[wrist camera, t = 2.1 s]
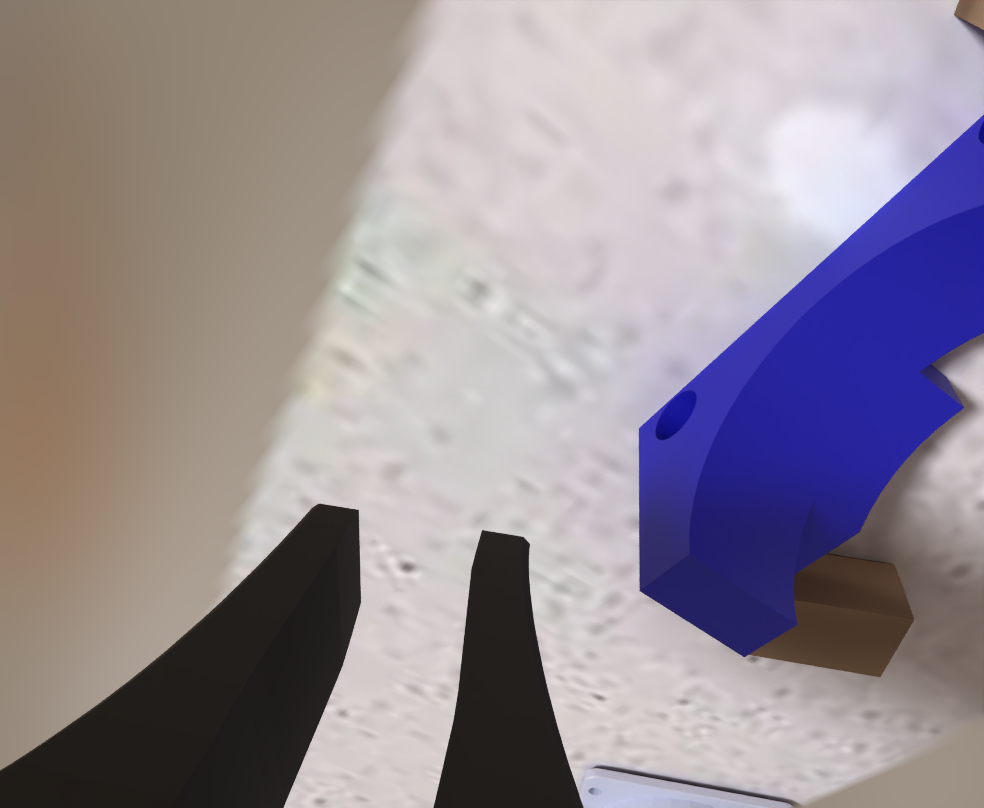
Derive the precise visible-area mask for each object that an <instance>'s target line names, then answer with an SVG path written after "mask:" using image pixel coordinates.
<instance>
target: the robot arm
mask: <svg viewBox="0 0 984 808" xmlns="http://www.w3.org/2000/svg"><path fill="white" fill-rule="evenodd" d="M529 547H530V544H529V543H528V541H527V540H526V539H525V538H524V537H521V536H514V535H508V534H502V533H496V532H490V531H484V530H482V533H481V536H480V540H479V543H478V547H477V550H476V554H475V558H474V562H473V566H472V570H471V580H470V589H469V598H468V607H467V616H466V626H465V635H464V644H463V653H462V663H461V672H460V681H459V690H458V697H457V703H456V709H455V715H454V721H453V726H452V730H451V734H450V739H449V743H448V747H447V752H446V756H445V761H444V765H443V769H442V774H441V778H440V783H439V787H438V791H437V795H436V800H435V804H434V808H794V807H793V806H792V805H790V804H788V803H785V802H779V801H774V800H768V799H763V798H758V797H752V796H747V795H741V794H736V793H730V792H725V791H719V790H714V789H709V788H703V787H698V786H692V785H687V784H681V783H676V782H670V781H665V780H660V779H654V778H649V777H643V776H638V775H632V774H627V773H621V772H616V771H611V770H605V769H600V768H593V769H589V770H587V771H586V772H585V774H584V778H583V782H582V785H581V789H580V793H578V790H577V787H576V784H575V781H574V778H573V775H572V772H571V769H570V766H569V763H568V760H567V757H566V754H565V750H564V747H563V744H562V740H561V737H560V733H559V730H558V727H557V723H556V719H555V715H554V712H553V708H552V704H551V700H550V697H549V693H548V688H547V684H546V680H545V676H544V671H543V666H542V661H541V656H540V651H539V646H538V641H537V636H536V631H535V625H534V619H533V611H532V603H531V595H530V583H529ZM360 604H361V586H360V545H359V510H355V509H349V508H343V507H337V506H331V505H324V504H318V505H316V506H315V507H313V508H312V509H311V510H310V511H309V512H308V513H307V514H306V515H305V517H304V518H303V519H302V520H301V521H300V522H299V523H298V524H297V525H296V526H295V528H294V529H293V530H292V531H291V532H290V533H289V534H288V535H287V536H286V537H285V538H284V539H283V540H282V542H281V543H280V544H279V545H278V546H277V547H276V548H275V549H274V550H273V551H272V552H271V553H270V554H269V555H268V556H267V557H266V558H265V559H264V560H263V561H262V562H261V563H260V564H259V565H258V566H257V567H256V568H255V569H254V570H253V571H252V572H251V573H250V574H249V575H248V576H247V577H246V578H245V579H244V580H243V581H242V582H241V583H240V584H239V585H238V586H237V587H236V588H235V589H234V590H233V591H232V592H231V593H230V594H229V595H228V596H227V597H226V598H225V599H224V600H223V601H222V602H220V603H219V604H218V605H217V606H216V607H215V608H214V609H213V610H212V611H211V612H210V613H209V614H208V615H206V616H205V617H204V618H203V619H202V620H201V621H200V622H199V623H197V624H196V625H195V626H194V627H193V628H192V629H190V630H189V631H188V632H187V633H186V634H185V635H184V636H183V637H181V638H180V639H179V640H178V641H177V642H176V643H175V644H173V645H172V646H171V647H170V648H169V649H168V650H167V651H165V652H164V653H163V654H162V655H161V656H159V657H158V658H157V659H156V660H155V661H153V662H152V663H151V664H150V665H148V666H147V667H146V668H145V669H143V670H142V671H141V672H140V673H138V674H137V675H136V676H135V677H133V678H132V679H131V680H130V681H128V682H127V683H126V684H125V685H123V686H122V687H120V688H119V689H118V690H116V691H115V692H114V693H113V694H111V695H110V696H109V697H107V698H106V699H105V700H103V701H102V702H101V703H99V704H98V705H97V706H95V707H94V708H92V709H91V710H90V711H88V712H87V713H85V714H84V715H82V716H81V717H80V718H78V719H77V720H75V721H74V722H72V723H71V724H70V725H68V726H67V727H65V728H64V729H63V730H61V731H60V732H58V733H57V734H55V735H54V736H53V737H51V738H50V739H48V740H47V741H45V742H44V743H42V744H41V745H39V746H38V747H36V748H35V749H33V750H32V751H30V752H29V753H27V754H26V755H24V756H23V757H21V758H20V759H18V760H16V761H15V762H13V763H12V764H10V765H8V766H7V767H5V768H3V769H2V770H0V808H283V807H284V805H285V802H286V800H287V798H288V795H289V793H290V790H291V788H292V786H293V783H294V781H295V779H296V776H297V774H298V771H299V769H300V767H301V764H302V762H303V760H304V757H305V755H306V752H307V750H308V748H309V745H310V743H311V741H312V738H313V736H314V733H315V731H316V729H317V726H318V724H319V721H320V719H321V717H322V714H323V712H324V710H325V707H326V705H327V702H328V700H329V697H330V695H331V693H332V690H333V688H334V685H335V683H336V681H337V678H338V676H339V673H340V671H341V668H342V666H343V662H344V659H345V656H346V652H347V649H348V646H349V642H350V639H351V636H352V632H353V629H354V625H355V622H356V618H357V615H358V611H359V607H360Z"/></svg>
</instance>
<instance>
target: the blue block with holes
mask: <svg viewBox="0 0 984 808" xmlns="http://www.w3.org/2000/svg"><path fill="white" fill-rule="evenodd" d="M983 333H984V115H983V116H982V117H981V118H980V119H979V120H978V121H976V122H975V123H974V124H973V125H972V126H971V127H970V128H969V129H968V130H967V131H965V132H964V133H963V134H962V135H961V136H960V137H959V138H958V139H957V140H956V141H954V142H953V143H952V144H951V145H950V146H949V147H948V148H947V149H946V150H945V151H943V152H942V153H941V154H940V155H939V156H938V157H937V158H936V159H935V160H934V161H932V162H931V163H930V164H929V165H928V166H927V167H926V168H925V169H924V170H923V171H922V172H920V173H919V174H918V175H917V176H916V177H915V178H914V179H913V180H912V181H911V182H909V183H908V184H907V185H906V186H905V187H904V188H903V189H902V190H901V191H900V192H898V193H897V194H896V195H895V196H894V197H893V198H892V199H891V200H890V201H889V202H887V203H886V204H885V205H884V206H883V207H882V208H881V209H880V210H879V211H878V212H876V213H875V214H874V215H873V216H872V217H871V218H870V219H869V220H868V221H867V222H865V223H864V224H863V225H862V226H861V227H860V228H859V229H858V230H857V231H856V232H854V233H853V234H852V235H851V236H850V237H849V238H848V239H847V240H846V241H845V242H843V243H842V244H841V245H840V246H839V247H838V248H837V249H836V250H835V251H834V252H832V253H831V254H830V255H829V256H828V257H827V258H826V259H825V260H824V261H823V262H821V263H820V264H819V265H818V266H817V267H816V268H815V269H814V270H813V271H812V272H810V273H809V274H808V275H807V276H806V277H805V278H804V279H803V280H802V281H801V282H799V283H798V284H797V285H796V286H795V287H794V288H793V289H792V290H791V291H790V292H788V293H787V294H786V295H785V296H784V297H783V298H782V299H781V300H780V301H779V302H777V303H776V304H775V305H774V306H773V307H772V308H771V309H770V310H769V311H768V312H767V313H765V314H764V315H763V316H762V317H761V318H760V319H759V320H758V321H757V322H756V323H754V324H753V325H752V326H751V327H750V328H749V329H748V330H747V331H746V332H745V333H743V334H742V335H741V336H740V337H739V338H738V339H737V340H736V341H735V342H734V343H732V344H731V345H730V346H729V347H728V348H727V349H726V350H725V351H724V352H723V353H721V354H720V355H719V356H718V357H717V358H716V359H715V360H714V361H713V362H712V363H710V364H709V365H708V366H707V367H706V368H705V369H704V370H703V371H702V372H701V373H699V374H698V375H697V376H696V377H695V378H694V379H693V380H692V381H691V382H690V383H688V384H687V385H686V386H685V387H684V388H683V389H682V390H681V391H680V392H679V393H677V394H676V395H675V396H674V397H673V398H672V399H671V400H670V401H669V402H668V403H666V404H665V405H664V406H663V407H662V408H661V409H660V410H659V411H658V412H657V413H655V414H654V415H653V416H652V417H651V418H650V419H649V420H648V421H647V422H646V423H644V424H643V425H642V426H641V427H640V428H639V548H640V591H641V592H642V593H644V594H645V595H647V596H649V597H650V598H652V599H653V600H655V601H656V602H658V603H660V604H661V605H663V606H664V607H666V608H667V609H669V610H671V611H672V612H674V613H675V614H677V615H679V616H680V617H682V618H683V619H685V620H686V621H688V622H690V623H691V624H693V625H694V626H696V627H698V628H699V629H701V630H702V631H704V632H705V633H707V634H709V635H710V636H712V637H713V638H715V639H716V640H718V641H720V642H721V643H723V644H724V645H726V646H728V647H729V648H731V649H732V650H734V651H735V652H737V653H739V654H740V655H742V656H743V657H746V656H747V655H749V654H751V653H752V652H754V651H755V650H757V649H759V648H760V647H762V646H764V645H765V644H767V643H769V642H770V641H772V640H773V639H775V638H777V637H778V636H780V635H782V634H783V633H785V632H787V631H788V630H790V629H791V628H793V627H795V626H796V625H797V619H796V613H795V605H794V576H795V574H796V573H798V572H799V571H801V570H802V569H804V568H805V567H807V566H808V565H810V564H811V563H813V562H814V561H816V560H818V559H819V558H821V557H822V556H824V555H825V554H827V553H828V552H830V551H831V550H833V549H834V548H836V547H837V546H839V545H840V544H842V543H843V542H845V541H846V540H848V539H850V538H851V537H853V536H854V535H856V534H857V533H859V532H860V530H861V528H862V526H863V524H864V522H865V520H866V518H867V516H868V514H869V512H870V510H871V508H872V506H873V505H874V503H875V501H876V500H877V498H878V496H879V495H880V493H881V492H882V490H883V489H884V487H885V486H886V485H887V483H888V482H889V480H890V479H891V477H892V476H893V475H894V474H895V472H896V471H897V470H898V469H899V467H900V466H901V465H902V464H903V463H904V461H905V460H906V459H907V458H908V457H909V456H910V455H911V454H912V453H913V452H914V451H915V450H916V448H917V447H918V446H919V445H920V444H921V443H922V442H923V441H925V440H926V439H927V438H928V437H929V436H930V435H931V434H932V433H933V432H934V431H935V430H936V429H938V428H939V427H940V426H941V425H943V424H944V423H945V422H946V421H948V420H949V419H950V418H951V417H953V416H954V415H955V414H956V413H958V412H959V411H961V410H962V409H963V408H964V406H963V405H962V403H961V401H960V400H959V398H958V396H957V395H956V393H955V391H954V389H953V388H952V386H951V384H950V383H949V381H948V379H947V378H946V377H945V376H944V375H943V374H942V373H941V372H939V371H938V370H937V369H936V368H934V367H933V366H932V365H931V363H933V362H934V361H936V360H937V359H939V358H940V357H942V356H943V355H945V354H946V353H948V352H949V351H951V350H953V349H955V348H956V347H958V346H960V345H962V344H963V343H965V342H967V341H969V340H970V339H972V338H974V337H976V336H978V335H981V334H983Z"/></svg>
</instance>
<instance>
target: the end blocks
mask: <svg viewBox="0 0 984 808" xmlns="http://www.w3.org/2000/svg"><path fill="white" fill-rule="evenodd" d="M954 15H956V16H957V17H959V18H961V19H963V20H965V21H967V22H969V23H971V24H973V25H975V26H977V27H979V28H981V29H983V30H984V0H959V3H958V6H957V8H956V11H955V13H954ZM794 605H795V613H796V619H797V625H796V626H795V627H793V628H791V629H790V630H788V631H787V632H785V633H783V634H782V635H780V636H778V637H777V638H775V639H773V640H772V641H770V642H769V643H767V644H765V645H764V646H762V647H760V648H759V649H757V650H755V651H754V652H752V653H751V654H749V655H754V656H760V657H765V658H771V659H777V660H783V661H789V662H795V663H801V664H807V665H812V666H818V667H824V668H830V669H836V670H842V671H848V672H853V673H859V674H865V675H871V676H877V677H881V675H882V673H883V671H884V670H885V668H886V666H887V665H888V663H889V661H890V660H891V658H892V656H893V655H894V653H895V651H896V650H897V648H898V646H899V644H900V643H901V641H902V639H903V638H904V636H905V634H906V633H907V631H908V629H909V628H910V626H911V624H912V623H913V621H914V618H913V615H912V612H911V610H910V607H909V604H908V601H907V598H906V596H905V593H904V590H903V587H902V585H901V582H900V579H899V576H898V574H897V571H896V568H895V565H892V564H886V563H879V562H873V561H867V560H861V559H854V558H848V557H842V556H836V555H830V554H825V555H824V556H822V557H821V558H819V559H818V560H816V561H814V562H813V563H811V564H810V565H808V566H807V567H805V568H804V569H802V570H801V571H799V572H798V573H796V574H795V576H794Z"/></svg>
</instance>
